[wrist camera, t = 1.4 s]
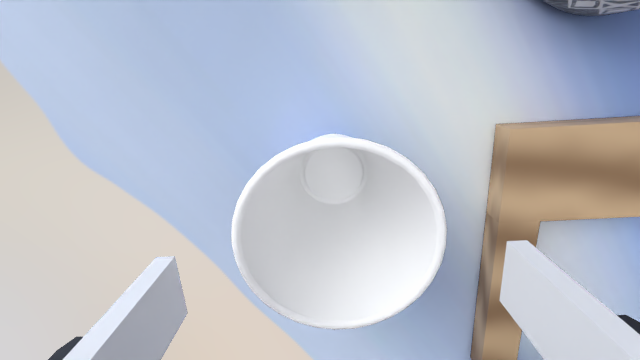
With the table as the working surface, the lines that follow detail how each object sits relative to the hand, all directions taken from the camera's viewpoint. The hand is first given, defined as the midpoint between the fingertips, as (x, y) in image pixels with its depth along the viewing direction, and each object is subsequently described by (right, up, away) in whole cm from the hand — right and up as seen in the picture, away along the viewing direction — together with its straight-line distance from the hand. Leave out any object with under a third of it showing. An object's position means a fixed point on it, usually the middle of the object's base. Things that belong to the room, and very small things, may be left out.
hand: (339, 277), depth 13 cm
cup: (0, +5, +12) cm, 13 cm away
